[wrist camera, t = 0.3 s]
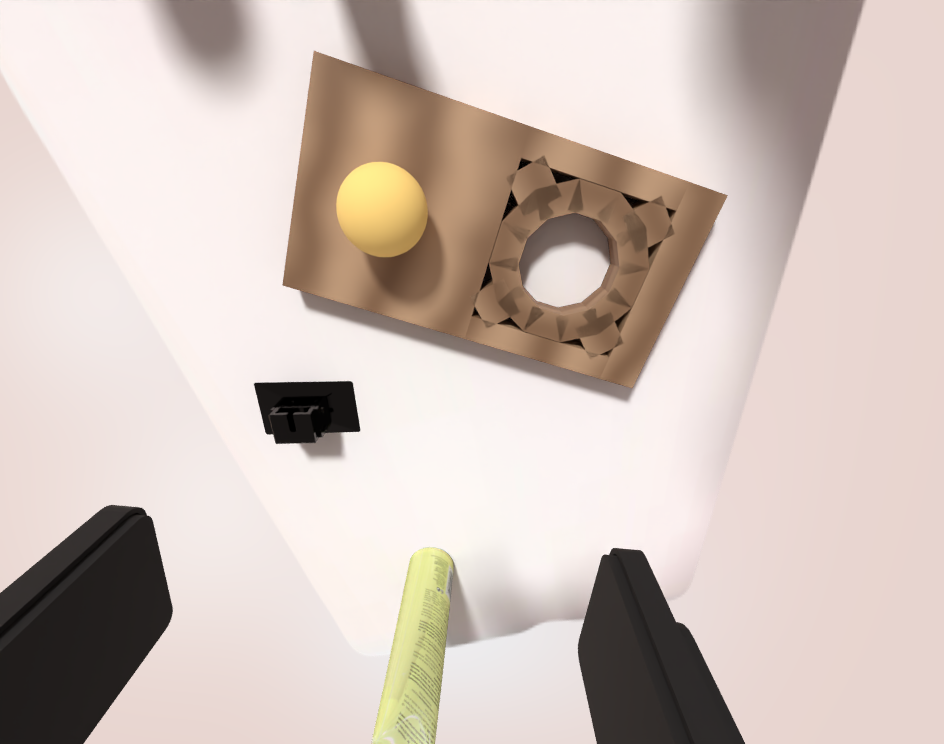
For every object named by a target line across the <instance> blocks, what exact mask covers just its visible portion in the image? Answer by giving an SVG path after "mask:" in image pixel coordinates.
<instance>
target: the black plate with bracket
mask: <svg viewBox="0 0 944 744" xmlns="http://www.w3.org/2000/svg"><path fill="white" fill-rule="evenodd" d="M254 386H255V390H256V395H257V399H258V403H259V407H260V411H261V415H262V419H263V423H264V428H265V432H266V434H273V435H274V439H275V443H276V444H290V443H316V441H317V440H318V438H319V437H323V436H324V434H325V433H333V432H359V431H360V425H359V419H358V413H357V407H356V400H355V394H354V388H353V383H352V382H351V381H338V382H277V383H255V384H254Z"/></svg>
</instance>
